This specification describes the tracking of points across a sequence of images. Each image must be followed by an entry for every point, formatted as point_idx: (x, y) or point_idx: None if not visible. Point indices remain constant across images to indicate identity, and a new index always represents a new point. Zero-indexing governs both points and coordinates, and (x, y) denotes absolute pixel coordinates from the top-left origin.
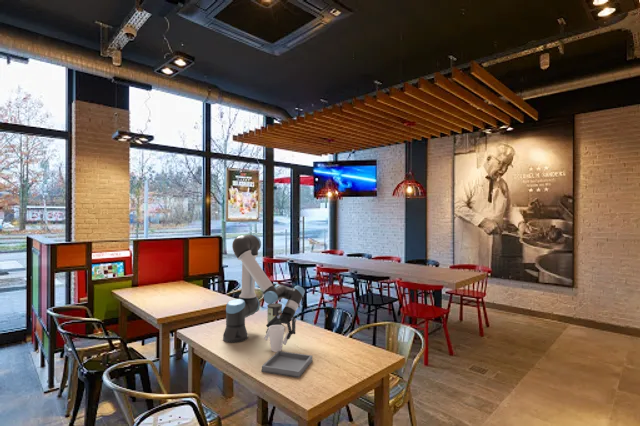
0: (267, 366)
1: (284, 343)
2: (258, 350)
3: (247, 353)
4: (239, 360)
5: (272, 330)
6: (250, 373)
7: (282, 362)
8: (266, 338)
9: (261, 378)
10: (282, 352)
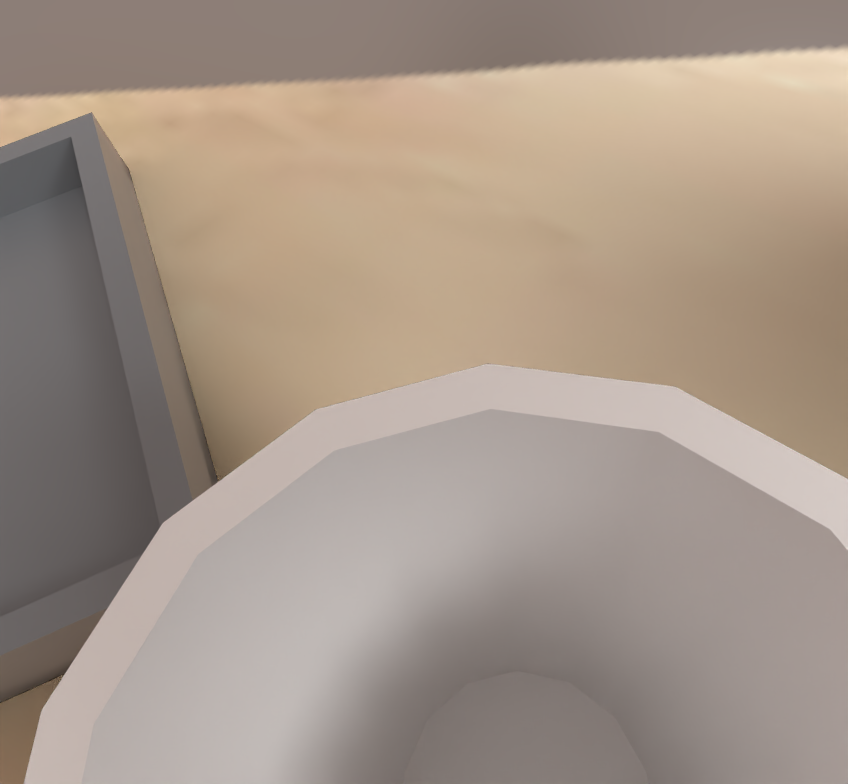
0: (19, 145)
1: None
2: None
3: (740, 300)
4: (582, 135)
5: (369, 412)
6: (209, 91)
7: (4, 434)
8: None
9: (46, 114)
10: (100, 576)
